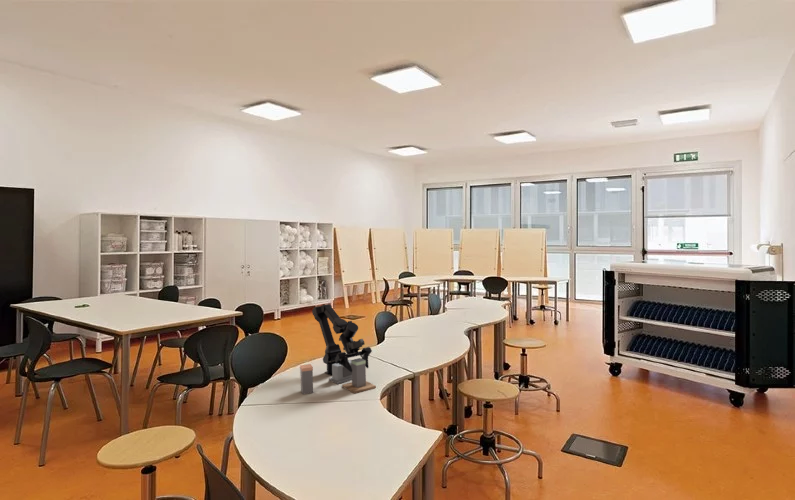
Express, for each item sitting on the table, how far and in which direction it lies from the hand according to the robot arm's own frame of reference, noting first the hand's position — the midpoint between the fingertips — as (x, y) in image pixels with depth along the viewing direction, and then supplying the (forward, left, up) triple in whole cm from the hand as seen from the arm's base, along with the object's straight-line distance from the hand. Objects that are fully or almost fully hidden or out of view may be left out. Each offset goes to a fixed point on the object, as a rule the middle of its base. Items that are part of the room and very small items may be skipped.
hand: (360, 369), depth 216 cm
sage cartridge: (-1, 0, -8) cm, 8 cm away
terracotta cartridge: (-14, -21, -9) cm, 27 cm away
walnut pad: (-1, 0, -9) cm, 9 cm away
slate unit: (-16, +2, -9) cm, 19 cm away
